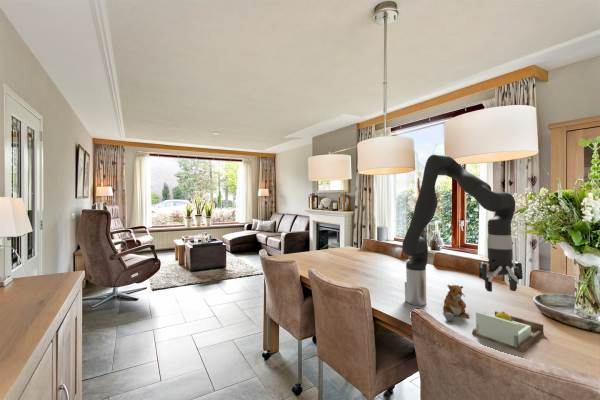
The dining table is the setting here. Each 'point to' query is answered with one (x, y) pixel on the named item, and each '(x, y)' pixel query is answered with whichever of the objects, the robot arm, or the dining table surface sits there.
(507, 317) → the lemon
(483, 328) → the pale green block
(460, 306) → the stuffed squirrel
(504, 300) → the dining table surface
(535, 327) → the rail board
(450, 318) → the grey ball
